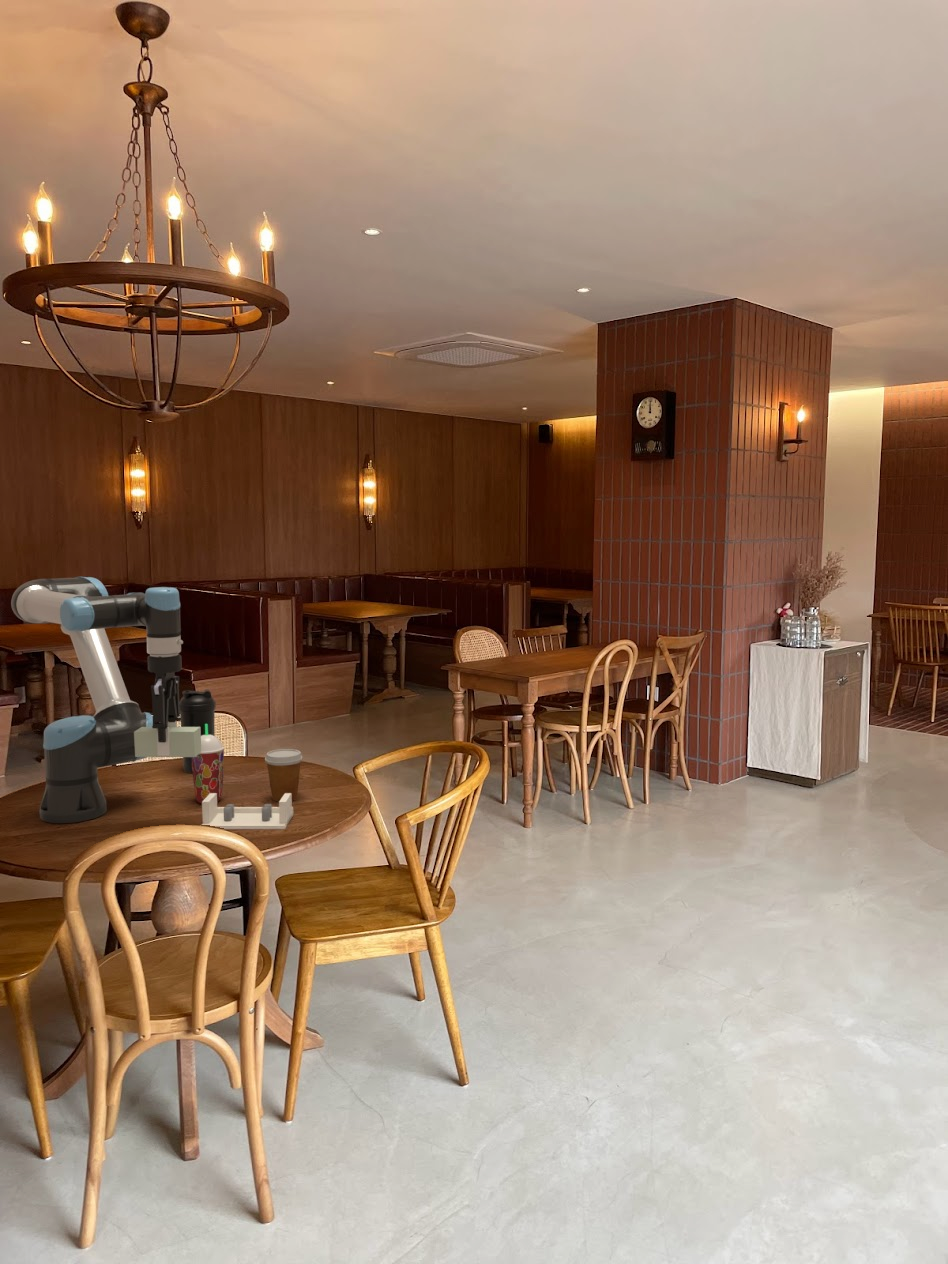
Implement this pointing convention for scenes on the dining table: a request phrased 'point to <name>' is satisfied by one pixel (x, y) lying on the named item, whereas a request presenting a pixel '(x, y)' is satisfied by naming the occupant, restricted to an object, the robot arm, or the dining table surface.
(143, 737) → the shelf block
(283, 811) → the peg cradle
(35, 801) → the dining table surface
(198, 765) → the smoothie
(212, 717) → the water bottle
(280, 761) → the disposable coffee cup
